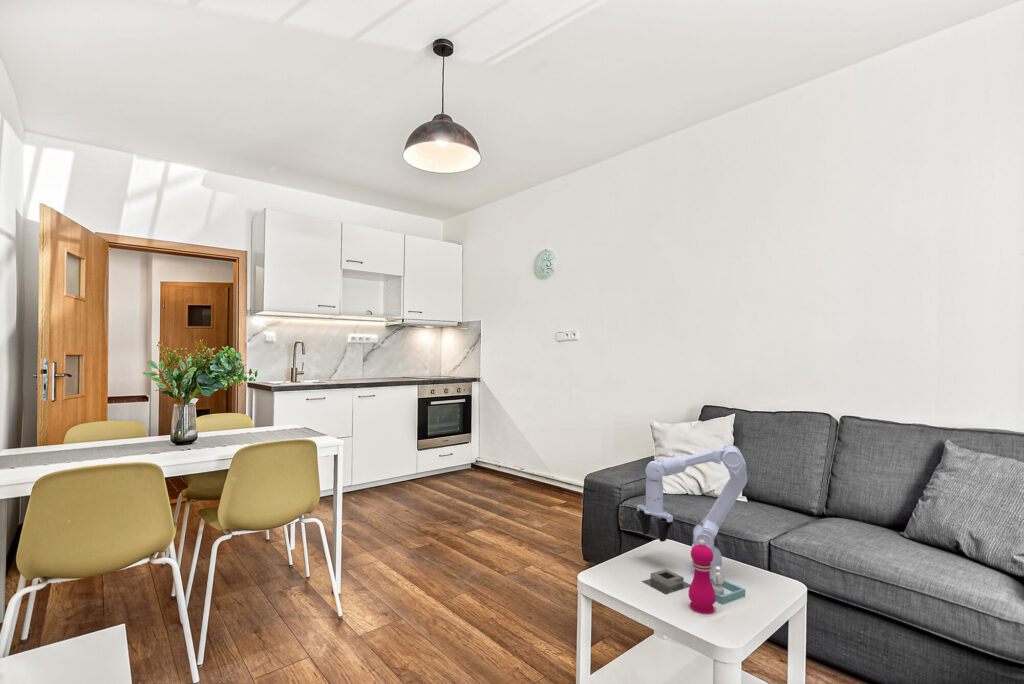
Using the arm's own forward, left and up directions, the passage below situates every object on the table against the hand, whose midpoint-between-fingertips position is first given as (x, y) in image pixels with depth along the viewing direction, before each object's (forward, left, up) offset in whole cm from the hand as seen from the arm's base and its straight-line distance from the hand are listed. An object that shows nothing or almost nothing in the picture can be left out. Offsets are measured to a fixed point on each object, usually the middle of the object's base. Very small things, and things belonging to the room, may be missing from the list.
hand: (654, 537), depth 170 cm
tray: (-2, +24, -10) cm, 26 cm away
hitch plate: (+7, +12, -10) cm, 17 cm away
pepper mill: (+10, +28, -11) cm, 31 cm away
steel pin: (-2, +24, -10) cm, 26 cm away
